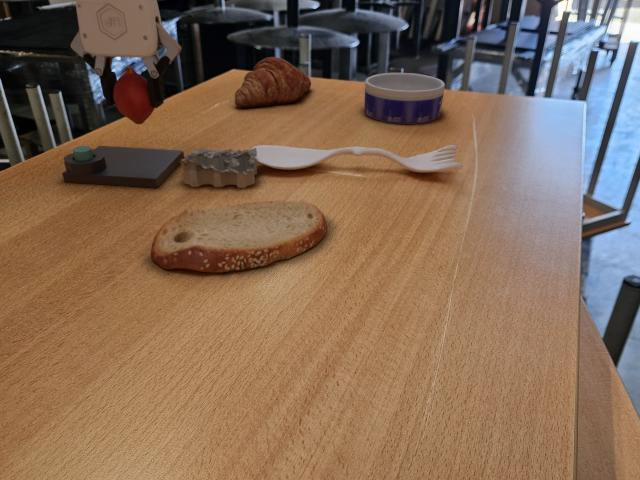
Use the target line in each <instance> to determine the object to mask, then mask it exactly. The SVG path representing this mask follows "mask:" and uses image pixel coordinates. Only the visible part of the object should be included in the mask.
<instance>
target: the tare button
mask: <svg viewBox="0 0 640 480" xmlns="http://www.w3.org/2000/svg"><path fill="white" fill-rule="evenodd" d="M92 151H93V148H92V147H91V146H90V145H89V146H88V145H79V146H76V147H73V148H72V153H73V154H74V158H75V161H86V160H90V159H93V158H94V157H93V152H92Z"/></svg>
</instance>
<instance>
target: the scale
mask: <svg viewBox="0 0 640 480" xmlns="http://www.w3.org/2000/svg"><path fill="white" fill-rule="evenodd" d="M92 152H93V157H94V158H93V159H90V160H86V161H75V158H74V154H73V152H71V153H69V154H67V155H65V156H64V157H63V163H64V167H65V170H64V171H63V172H62V173H61V174H62V178H63V183H74V184H88V185H89V184H90V185H102V186H103V185H104V186H117V187H118V186H120V187H132V188H133V187H135V188H149V189H150V188H151V189H158V188H159V187H160V186H161V185H162V184H163V183H164V182H165V181H166V179H167V178H168V177H170V175H171V174H172V173H173V172H174V171H175V170H176V169H178V167H179V166H180V165H181V163H180V159H185V152H184V150H180V149H163V148H146V147H145V148H144V147H130V146H129V147H128V146H127V147H126V146H110V145H98V146H96V147H95V148H93V149H92Z"/></svg>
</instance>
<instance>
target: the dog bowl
mask: <svg viewBox="0 0 640 480" xmlns="http://www.w3.org/2000/svg"><path fill="white" fill-rule="evenodd" d="M445 88H446V84H445V82H444V81H443V80H442V79H439V78H437V77H434V76H431V75H425V74H421V73H411V72H385V73H377V74H374V75H371V76H368V77H367V78H366V79H365V81H364V113H365V115H366V116H368V117H370V118H372V119H373V120H377V121H379V122H386V123H391V124H403V125H412V124H424V123H430V122H433V121H436V120H437V119H439V118H440V117H441V112H442V108H443V107H442V106H443V102H444V101H443V100H444V94H445Z"/></svg>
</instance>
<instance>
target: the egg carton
mask: <svg viewBox="0 0 640 480" xmlns="http://www.w3.org/2000/svg"><path fill="white" fill-rule="evenodd" d="M256 156H257V150H256V148H254V149H244V150H240V149H236V151H235V150H233V148H229V149H225V150H224V149H217V150H212V149H210V148H205V147H199V148H196V149H194V150H193V151H191V152H190V153H188V154H187V155H186V157H184V159H180V165H181V168H182V174H183V175H182V176H183V182H184V185H189V186H190V187H191V188H199V187H201V186H203V185H211V186H213V187H214V188H223V187H225V186H229V185H232V186H236V187H237V188H239V189H245V188H247V187H248V186H252V185H254V184H255V183H256V179H255V176H256V175H257V174H258V167H257V166H258V165H257V162H256Z"/></svg>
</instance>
